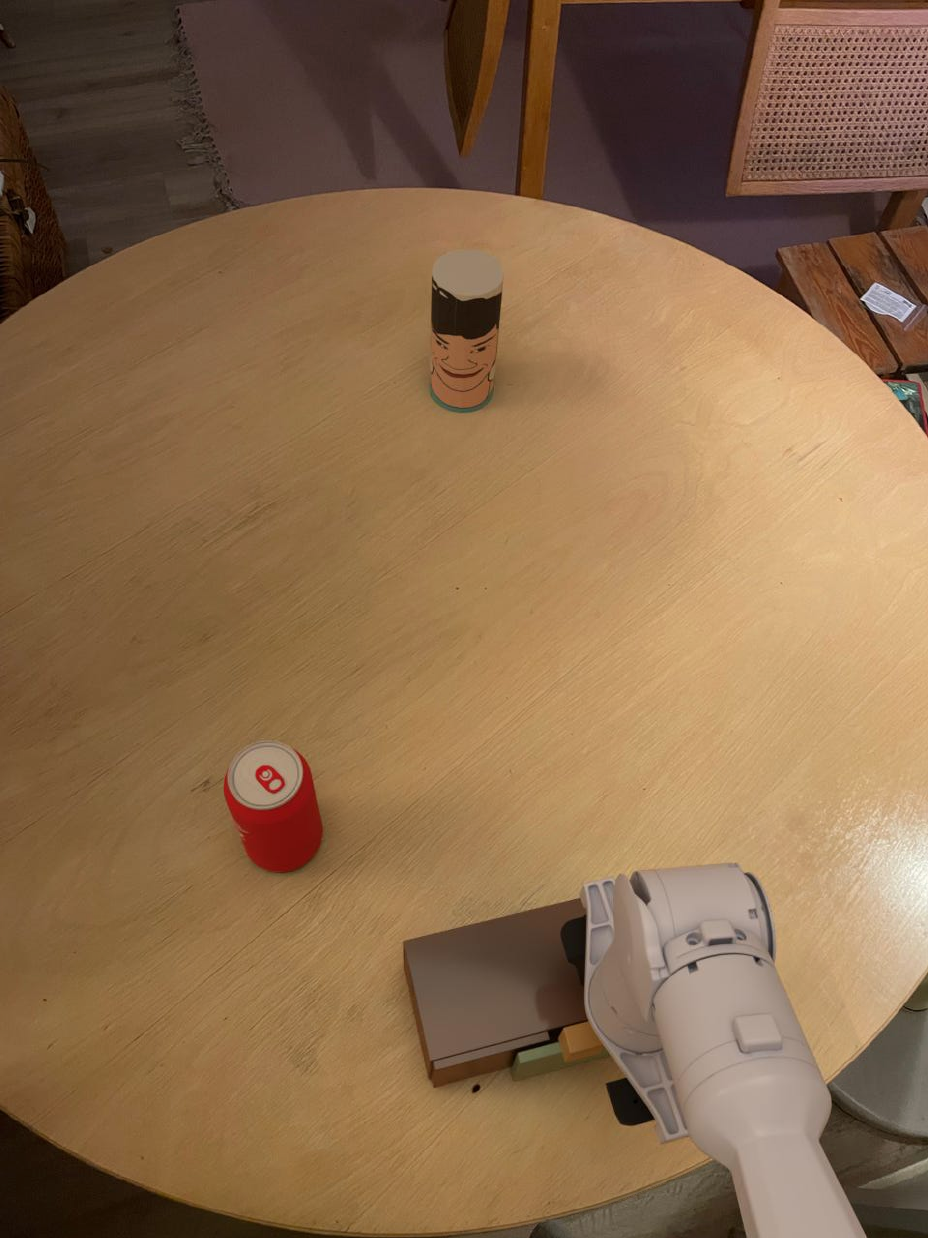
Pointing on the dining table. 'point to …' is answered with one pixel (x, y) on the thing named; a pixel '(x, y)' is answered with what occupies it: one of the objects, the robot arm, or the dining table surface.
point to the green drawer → (560, 1052)
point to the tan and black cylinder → (464, 329)
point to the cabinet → (492, 991)
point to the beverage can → (274, 805)
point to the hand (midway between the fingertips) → (612, 1034)
